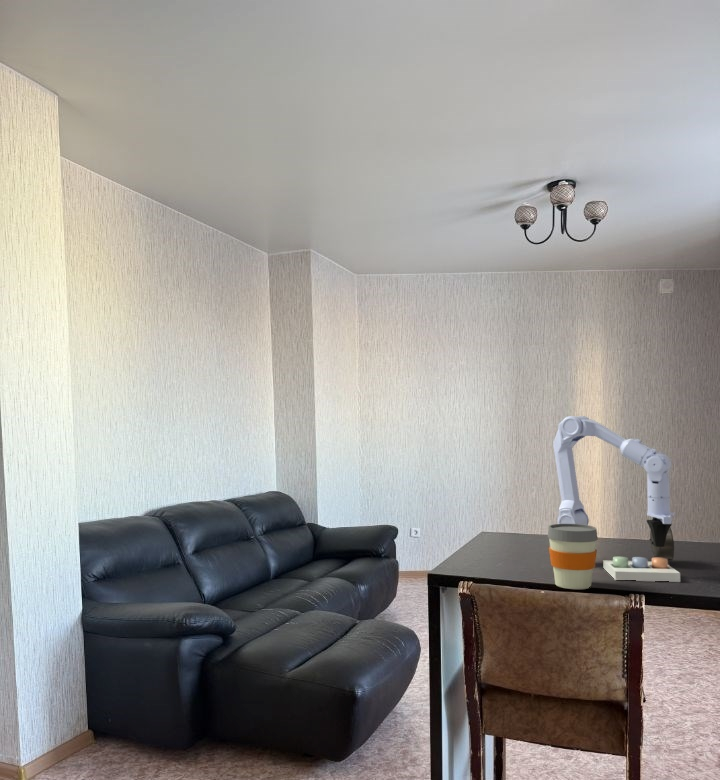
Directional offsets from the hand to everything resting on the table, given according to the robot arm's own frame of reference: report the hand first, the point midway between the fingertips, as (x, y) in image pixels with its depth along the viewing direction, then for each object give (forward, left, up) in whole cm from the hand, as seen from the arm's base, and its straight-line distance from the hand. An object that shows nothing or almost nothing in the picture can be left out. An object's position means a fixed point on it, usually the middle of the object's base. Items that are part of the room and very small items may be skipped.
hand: (659, 546), depth 189 cm
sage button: (-10, 0, -6) cm, 12 cm away
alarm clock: (+5, +16, -8) cm, 19 cm away
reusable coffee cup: (-26, -13, -8) cm, 30 cm away
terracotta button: (0, 0, -6) cm, 6 cm away
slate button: (-5, 0, -6) cm, 8 cm away
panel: (-5, 0, -8) cm, 10 cm away
